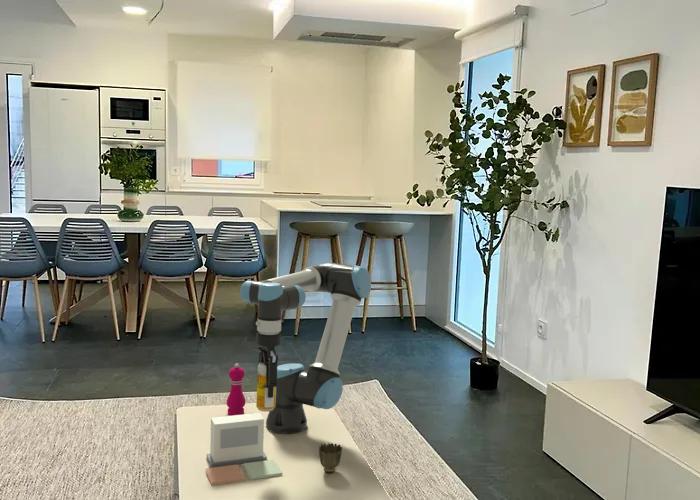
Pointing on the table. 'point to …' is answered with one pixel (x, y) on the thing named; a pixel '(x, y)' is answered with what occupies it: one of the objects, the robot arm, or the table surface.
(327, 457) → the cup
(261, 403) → the beer can
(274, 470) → the sage pad
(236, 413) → the pepper mill
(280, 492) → the table surface
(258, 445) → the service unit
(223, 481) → the terracotta pad
